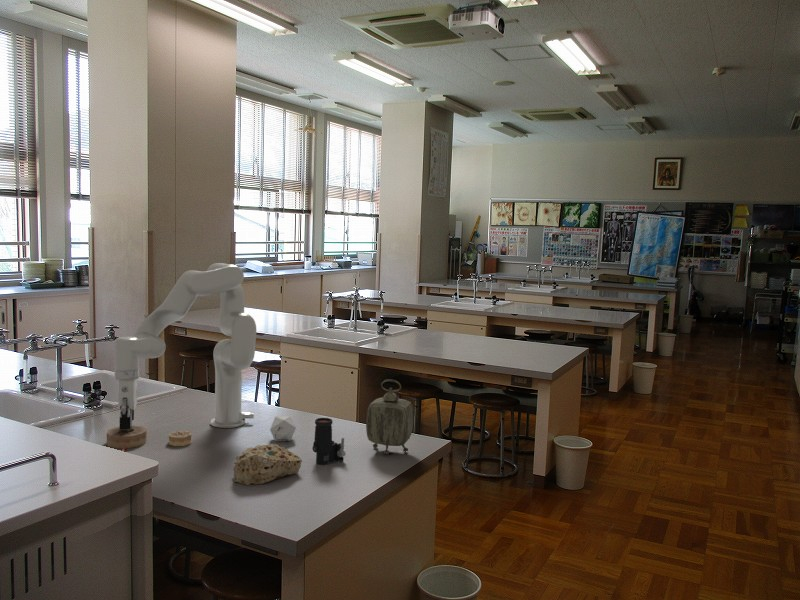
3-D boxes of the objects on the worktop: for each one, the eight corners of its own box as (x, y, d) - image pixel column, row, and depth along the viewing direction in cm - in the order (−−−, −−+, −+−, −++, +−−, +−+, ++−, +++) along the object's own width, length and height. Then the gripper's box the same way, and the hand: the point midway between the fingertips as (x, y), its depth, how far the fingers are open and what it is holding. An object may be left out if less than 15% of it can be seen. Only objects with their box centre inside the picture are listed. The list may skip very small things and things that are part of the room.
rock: (273, 463, 205) (282, 434, 203) (303, 486, 196) (311, 456, 194) (219, 473, 189) (228, 442, 187) (248, 498, 180) (258, 466, 178)
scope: (347, 419, 205) (323, 425, 197) (345, 461, 206) (322, 469, 199) (329, 413, 210) (306, 419, 202) (328, 455, 211) (304, 462, 204)
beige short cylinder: (191, 438, 222) (191, 430, 221) (190, 445, 215) (190, 436, 215) (169, 439, 220) (169, 431, 219) (168, 446, 213) (168, 437, 213)
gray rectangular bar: (132, 440, 217) (132, 405, 216) (131, 443, 214) (131, 408, 213) (122, 440, 217) (122, 406, 215) (120, 444, 213) (120, 408, 212)
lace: (125, 448, 210) (125, 446, 210) (121, 457, 201) (121, 455, 201) (123, 448, 210) (123, 446, 209) (119, 457, 201) (119, 455, 201)
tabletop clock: (412, 451, 218) (415, 379, 216) (405, 460, 210) (408, 384, 207) (371, 446, 222) (374, 374, 220) (363, 454, 214) (365, 380, 211)
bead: (147, 435, 223) (147, 424, 222) (144, 447, 211) (144, 435, 211) (110, 437, 219) (110, 426, 219) (104, 449, 208) (104, 437, 208)
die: (264, 440, 225) (265, 423, 219) (278, 422, 232) (280, 405, 225) (285, 451, 224) (287, 434, 217) (299, 433, 230) (301, 416, 223)
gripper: (136, 379, 206) (136, 432, 208) (141, 368, 222) (141, 416, 224) (110, 380, 204) (110, 433, 205) (118, 368, 220) (118, 417, 222)
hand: (126, 424), depth 215 cm, fingers open, 9 cm apart
